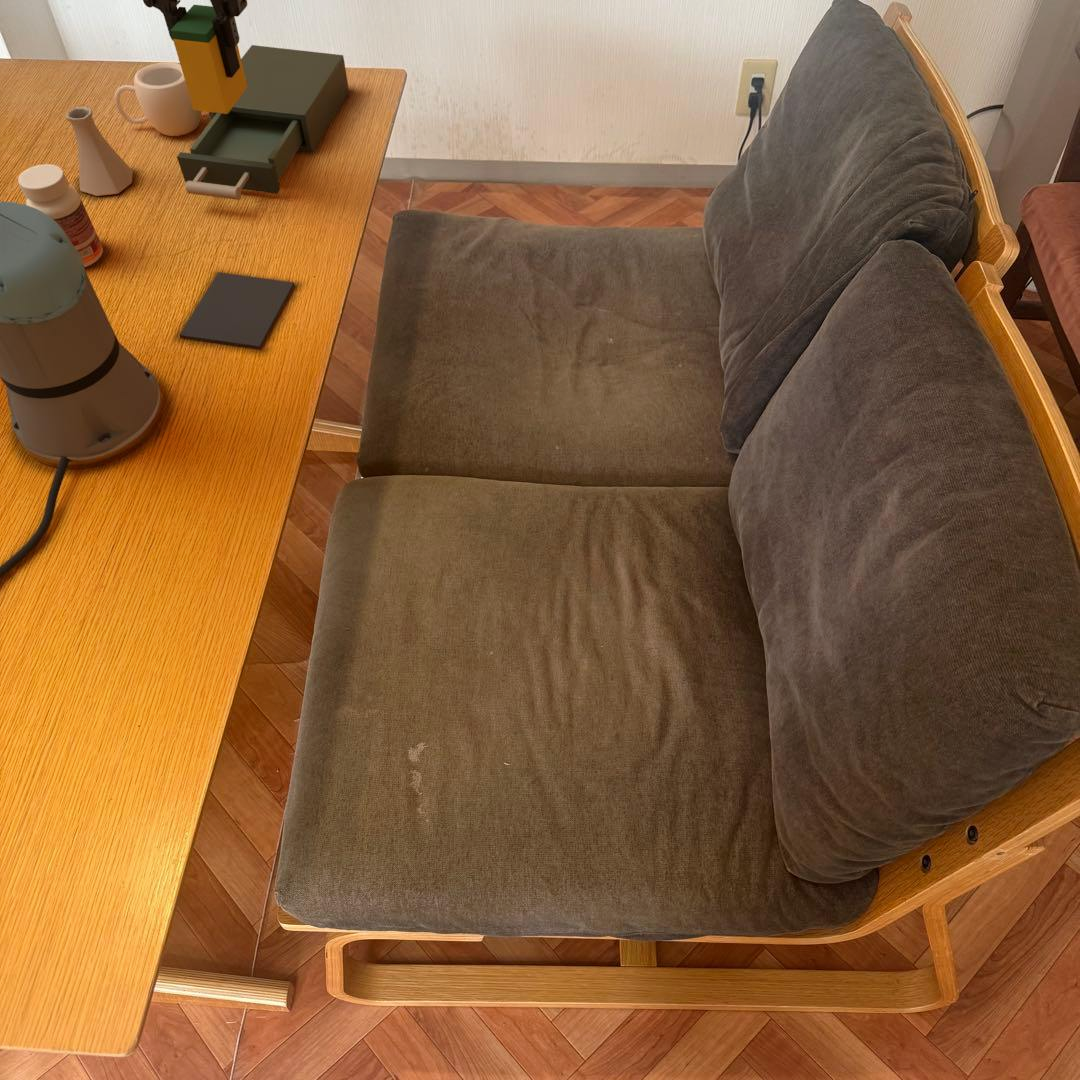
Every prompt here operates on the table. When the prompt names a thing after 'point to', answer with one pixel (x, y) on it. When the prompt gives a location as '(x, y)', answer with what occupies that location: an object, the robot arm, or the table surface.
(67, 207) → the pill bottle
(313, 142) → the cabinet
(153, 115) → the mug
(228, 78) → the sponge
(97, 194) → the flask
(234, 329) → the mat
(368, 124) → the table surface
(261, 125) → the drawer
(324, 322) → the table surface
